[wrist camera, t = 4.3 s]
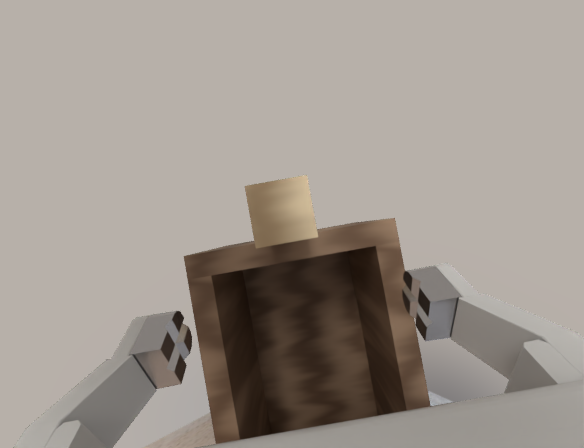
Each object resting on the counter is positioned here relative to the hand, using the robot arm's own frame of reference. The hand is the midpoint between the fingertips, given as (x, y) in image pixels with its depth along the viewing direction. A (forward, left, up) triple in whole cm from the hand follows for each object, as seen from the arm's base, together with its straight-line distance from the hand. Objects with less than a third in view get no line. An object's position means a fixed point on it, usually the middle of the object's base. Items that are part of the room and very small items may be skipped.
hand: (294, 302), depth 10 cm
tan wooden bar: (0, +15, +2) cm, 15 cm away
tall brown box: (0, +20, -24) cm, 31 cm away
